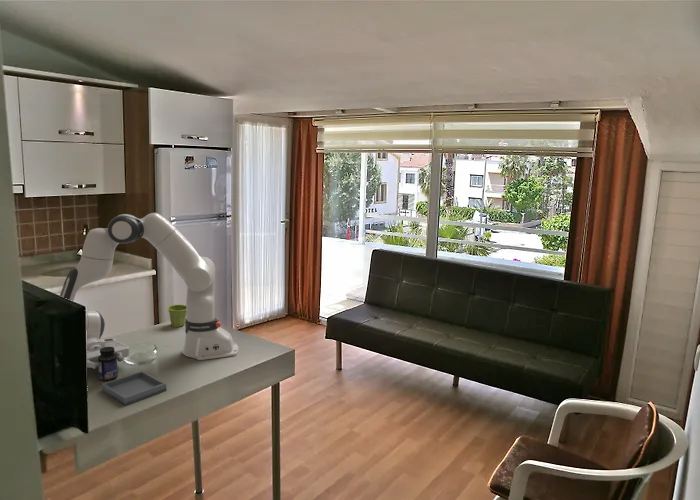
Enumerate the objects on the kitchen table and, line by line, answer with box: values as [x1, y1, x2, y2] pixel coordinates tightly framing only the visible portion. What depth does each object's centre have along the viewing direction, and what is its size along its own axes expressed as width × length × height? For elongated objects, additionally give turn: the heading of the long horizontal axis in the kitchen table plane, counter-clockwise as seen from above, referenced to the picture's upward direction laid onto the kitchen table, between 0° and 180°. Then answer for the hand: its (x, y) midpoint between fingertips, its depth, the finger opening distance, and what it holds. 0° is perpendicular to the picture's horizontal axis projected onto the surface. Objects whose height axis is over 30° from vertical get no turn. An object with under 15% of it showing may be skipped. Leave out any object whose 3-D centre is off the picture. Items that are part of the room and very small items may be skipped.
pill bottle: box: [98, 347, 119, 382], centre depth 183 cm, size 6×6×11 cm
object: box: [167, 304, 186, 328], centre depth 241 cm, size 9×9×9 cm
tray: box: [101, 370, 167, 406], centre depth 175 cm, size 15×15×2 cm
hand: (108, 362), depth 182 cm, fingers open, 8 cm apart
